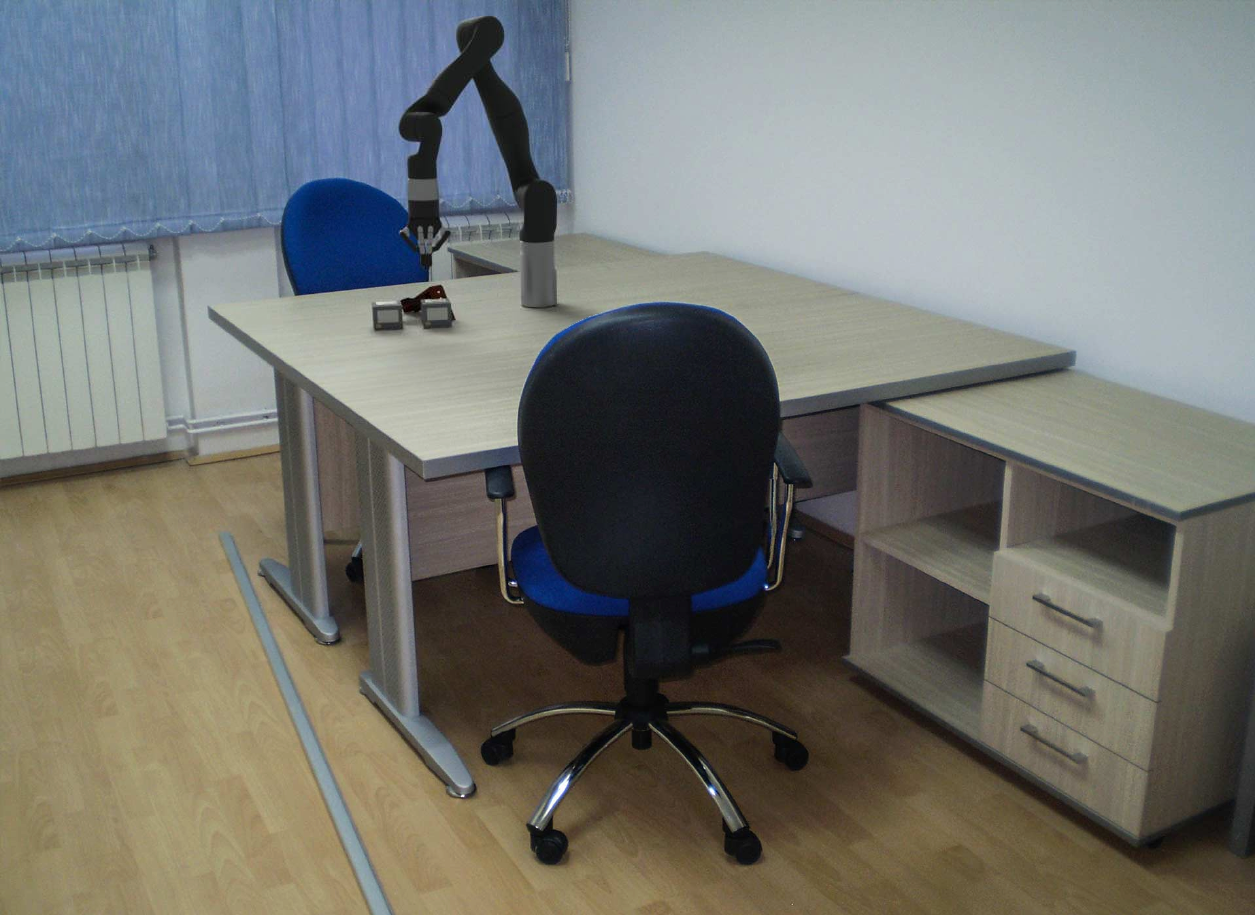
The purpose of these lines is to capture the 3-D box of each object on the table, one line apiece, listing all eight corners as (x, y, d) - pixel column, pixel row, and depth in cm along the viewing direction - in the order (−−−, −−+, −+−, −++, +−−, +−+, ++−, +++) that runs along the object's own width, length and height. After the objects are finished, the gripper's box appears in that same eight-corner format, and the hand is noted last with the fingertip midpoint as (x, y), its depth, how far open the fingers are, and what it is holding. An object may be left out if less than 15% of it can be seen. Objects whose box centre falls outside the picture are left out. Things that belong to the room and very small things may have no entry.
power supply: (401, 324, 319) (400, 300, 317) (403, 329, 313) (401, 304, 311) (373, 325, 317) (371, 301, 315) (374, 331, 311) (372, 306, 309)
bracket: (424, 326, 316) (409, 289, 317) (394, 346, 327) (380, 310, 327) (456, 319, 324) (442, 283, 324) (426, 339, 334) (412, 304, 334)
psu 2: (449, 321, 321) (448, 297, 319) (452, 327, 315) (451, 302, 314) (421, 323, 320) (420, 299, 318) (423, 328, 314) (422, 303, 312)
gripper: (449, 195, 312) (451, 265, 318) (394, 196, 309) (398, 267, 315) (452, 198, 305) (455, 270, 311) (396, 199, 302) (400, 272, 308)
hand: (426, 268), depth 313 cm, fingers closed
